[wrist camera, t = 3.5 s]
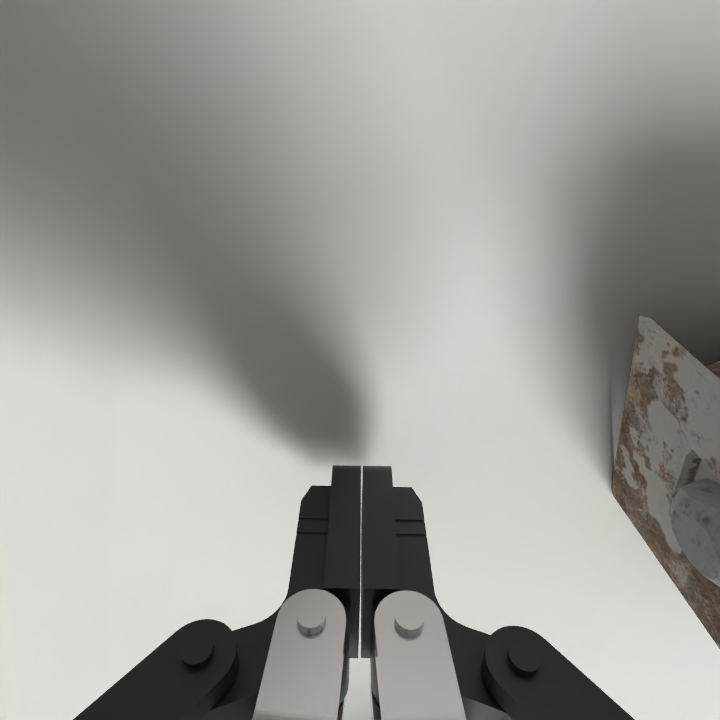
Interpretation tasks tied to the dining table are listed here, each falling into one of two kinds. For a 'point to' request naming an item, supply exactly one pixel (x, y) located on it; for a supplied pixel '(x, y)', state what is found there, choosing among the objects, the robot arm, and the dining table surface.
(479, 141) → the dining table surface
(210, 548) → the dining table surface
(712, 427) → the caster wheel
